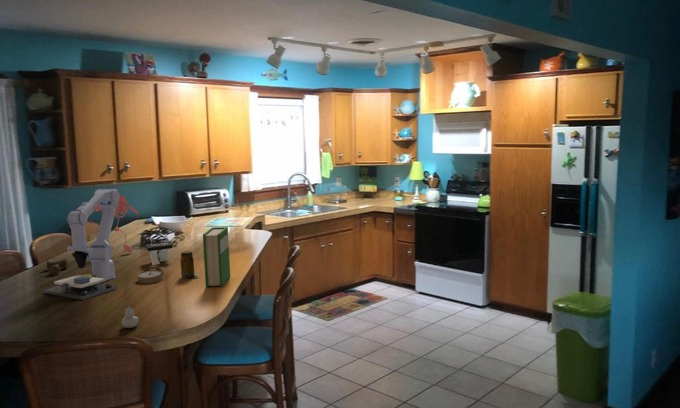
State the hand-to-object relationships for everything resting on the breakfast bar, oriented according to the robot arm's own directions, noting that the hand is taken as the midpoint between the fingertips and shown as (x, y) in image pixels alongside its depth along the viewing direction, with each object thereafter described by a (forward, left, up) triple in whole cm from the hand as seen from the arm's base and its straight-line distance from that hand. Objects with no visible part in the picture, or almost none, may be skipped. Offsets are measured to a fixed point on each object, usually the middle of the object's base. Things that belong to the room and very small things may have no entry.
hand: (81, 267), depth 240 cm
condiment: (-34, +31, -10) cm, 47 cm away
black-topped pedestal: (-50, -4, -10) cm, 51 cm away
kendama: (-15, -41, -10) cm, 45 cm away
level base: (+4, +3, -9) cm, 11 cm away
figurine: (-58, -45, -10) cm, 74 cm away
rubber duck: (+26, +60, -10) cm, 66 cm away
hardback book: (-33, +50, -10) cm, 61 cm away
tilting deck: (+4, +3, -5) cm, 7 cm away
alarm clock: (-23, +17, -10) cm, 31 cm away
